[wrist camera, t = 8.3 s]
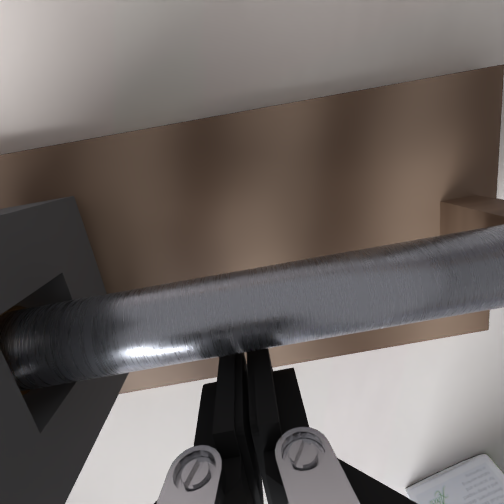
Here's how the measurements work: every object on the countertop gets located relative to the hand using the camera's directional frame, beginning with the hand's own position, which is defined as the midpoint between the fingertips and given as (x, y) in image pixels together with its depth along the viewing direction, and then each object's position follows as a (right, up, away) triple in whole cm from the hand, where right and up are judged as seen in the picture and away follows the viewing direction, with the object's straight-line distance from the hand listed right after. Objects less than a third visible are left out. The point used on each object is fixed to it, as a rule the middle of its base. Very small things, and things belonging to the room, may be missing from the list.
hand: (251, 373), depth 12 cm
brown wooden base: (-2, +4, +4) cm, 6 cm away
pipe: (-2, +3, -1) cm, 3 cm away
